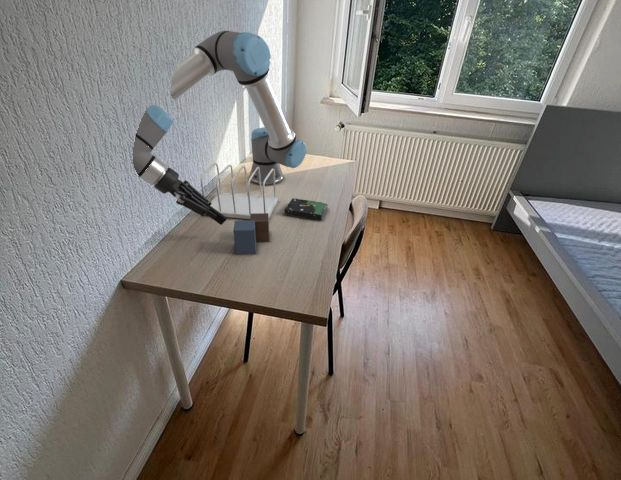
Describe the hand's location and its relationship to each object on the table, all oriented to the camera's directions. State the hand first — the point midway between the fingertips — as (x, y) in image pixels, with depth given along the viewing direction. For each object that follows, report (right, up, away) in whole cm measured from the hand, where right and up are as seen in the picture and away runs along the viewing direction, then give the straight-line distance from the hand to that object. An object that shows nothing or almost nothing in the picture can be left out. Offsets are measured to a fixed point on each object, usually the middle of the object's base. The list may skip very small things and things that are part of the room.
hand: (223, 221), depth 115 cm
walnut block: (+11, -5, +5) cm, 14 cm away
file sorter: (+2, +6, +23) cm, 23 cm away
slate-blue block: (+8, -9, -1) cm, 12 cm away
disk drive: (+27, +5, +22) cm, 35 cm away
